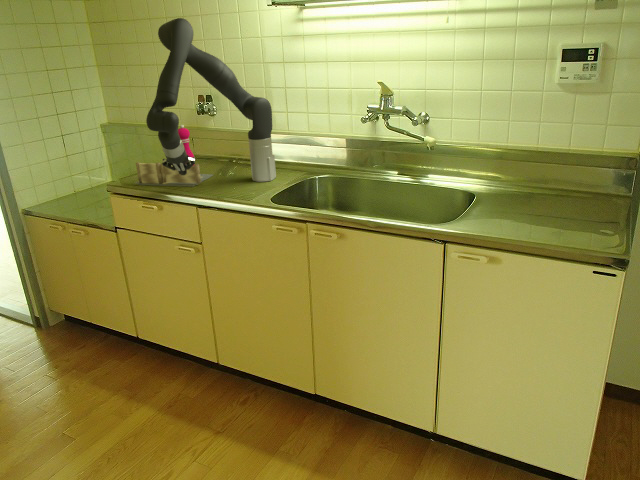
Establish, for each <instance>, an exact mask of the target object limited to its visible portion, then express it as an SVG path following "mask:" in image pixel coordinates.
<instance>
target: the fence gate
mask: <svg viewBox="0 0 640 480" xmlns="http://www.w3.org/2000/svg"><path fill="white" fill-rule="evenodd" d="M160 166H161V172H162V179H163V183H166V182H168V183H197V185H199V184H202V182H201V177H200V174H201V171H200V164H199V163H195V164H194V166H192V167H191V168H190V169H189V170H187V169H186V170H187V174H185V175H181V174H179V171H177V170H175V171H174V170H171V169H169V168H167V167H165V166H163V165H162V163H160ZM171 166H172V165H171ZM172 167H173V166H172Z"/></svg>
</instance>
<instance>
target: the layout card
mask: <svg viewBox="0 0 640 480" xmlns="http://www.w3.org/2000/svg"><path fill="white" fill-rule="evenodd" d="M213 176H214V174H211V173H210V174H208V173H206V174H205V173H202V174H201V173H200V177H201V183H203V182H204V181H206V180H208V179H210V178H211V177H213ZM134 184H138V186H158V187H159V186H163V187H164V186H166V187H191V188H193V187H195V186H197V185H198V184H197V183H168V182H166V183H162V184H155V183H139V181H136V182H134V183H133V185H134Z"/></svg>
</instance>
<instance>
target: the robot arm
mask: <svg viewBox="0 0 640 480" xmlns="http://www.w3.org/2000/svg"><path fill="white" fill-rule="evenodd" d="M194 33H195V32H194V28H193V26H192V24H191V23H190V22H189V21H188V19H186V18H183V17H178V18H174V19H172V20H169V21H168V22H167V21H166V22H165V23H163V24H161V25H160V27H159V28H158V30H157V35H158V38H159V41H160V43H161V44H162V46H164V48H166V49H167V50H168V51H169V55H168V57H167V59H166V62H165V63H164V66H163V68H162V71H161V72H160V75H159V78H158V82H157V89H156V93H155V97H154V100H153V102H152V105H151V107H150V108H149V111H148V113H147V115H146V121H145V123H146V127H147V129H149V130H150V131H153V132H158V133H157V136H158V141H159V142H160V146H161V148H162V151H163V154H164V155H165V158H162V163H161V164H162V165H163V166H165V167H167V168H169V169H171V170H174V171H175V170H177V171H179V174H181V175H185V174H187V170H189V169H190V168H191V167H192V166H193V165H195V164H196V157H195V156H194V157H192V158H190V157H189V156H188V155H187V153H186V151H185V148H184V145H183V142H182V140H181V139H180V136H179V134H178V129H179V126H180V125H179V123H180V119H179V116H178V115H177V113H175V112H173V111H165V110H164V109H166V108H171V107H175V106H176V105H177V103H178V102H177V101H178V98H179V90H180V86H181V85H180V84H181V80H182V76H183V71H184V67H185V65H186V64H188V66H189V67H191V68H192V69H193V70H194V71H195V72H196V73H197V74H199V76H201V77H202V78H203V79H204V80H205V81H206V82H207V83H208V84H209V85H210V86H212V87H213V88H214V89H216V90H217V91H218V92H219V93H220V94H221V95H222V96H224V97H225V98H226V99H227V100H229V101H230V102H231V104H232V105H234V107H236V108H237V110H238V111H239V112H240V113H241V114H242V115H243V116H244V117H245V118H246V119H248V120H251V121H252V128H251V129H249V131H248V132H247V137H248V149H249V157H250V158H249V159H250V169H251V170H250V171H251V178H252V181H253V182H260V183H261V182H269V181H270V182H271V181H273V180H274V179H276V178H277V172H276V170H277V169H276V159H275V158H276V157H275V154H273V144H272V132H273V109H272V106H271V102H270V100H268V99H267V98H266V97H265V98H264V97H259V96H253V95H252V94H251V93H249V92H248V91H247V90H246V89H244V88H243V87H242V86H241V85H240V83H239V81H238V79H237V78H238V77H237V76H236V75H235V73H234V71H233V70H232V69H231V68H230V67H229V66H228V65H227V64H226V63H225V62H223V60H221V59H220V58H218V57H217V56H215V55H213V54H210V53H209V52H206V51H203V50H202V49H199V48H198V47H196V46H195V45H194V44H193V39H194ZM171 165H172V166H173V167H172V166H171ZM186 169H187V170H186Z"/></svg>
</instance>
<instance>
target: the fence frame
mask: <svg viewBox="0 0 640 480" xmlns="http://www.w3.org/2000/svg"><path fill="white" fill-rule="evenodd" d="M160 164H161V162H156V163H151V162H150V163H149V162H148V163H142V162H140V161H138V162H137V161H136V162H135V166H136V172H137V173H136V174H137V178H138V182H139V183H155V184H162V183H163V179H162V172H161V166H160Z"/></svg>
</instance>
